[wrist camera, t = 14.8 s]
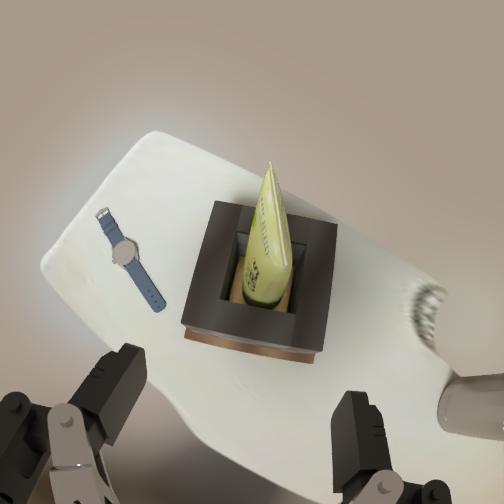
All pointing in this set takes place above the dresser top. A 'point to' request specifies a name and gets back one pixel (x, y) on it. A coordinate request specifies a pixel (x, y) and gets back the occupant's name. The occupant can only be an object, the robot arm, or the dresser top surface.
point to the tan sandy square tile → (238, 281)
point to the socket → (255, 318)
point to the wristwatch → (130, 261)
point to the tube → (267, 248)
